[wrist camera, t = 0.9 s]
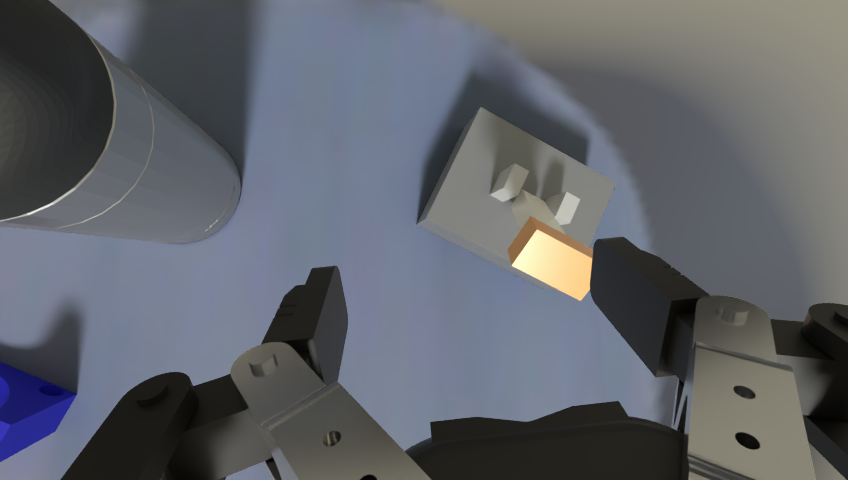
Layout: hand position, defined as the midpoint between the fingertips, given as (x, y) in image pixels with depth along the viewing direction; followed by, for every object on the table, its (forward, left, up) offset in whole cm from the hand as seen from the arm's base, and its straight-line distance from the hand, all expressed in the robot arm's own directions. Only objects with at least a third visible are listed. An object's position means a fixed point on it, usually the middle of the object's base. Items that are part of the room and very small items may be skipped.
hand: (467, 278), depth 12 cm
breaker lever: (+6, +9, -18) cm, 21 cm away
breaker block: (+6, +9, -23) cm, 25 cm away
